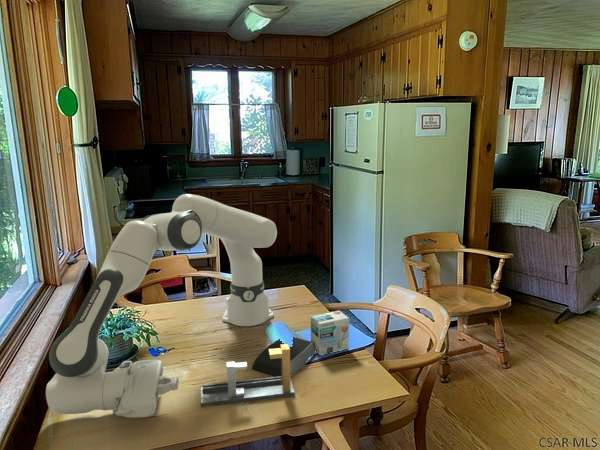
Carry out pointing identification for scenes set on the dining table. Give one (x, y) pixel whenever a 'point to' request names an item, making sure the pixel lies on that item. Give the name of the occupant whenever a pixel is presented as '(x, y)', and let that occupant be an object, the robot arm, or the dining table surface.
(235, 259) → the robot arm
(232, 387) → the retention clip
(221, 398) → the sliding rail fixture
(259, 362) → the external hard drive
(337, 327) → the light bulb box
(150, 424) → the dining table surface
